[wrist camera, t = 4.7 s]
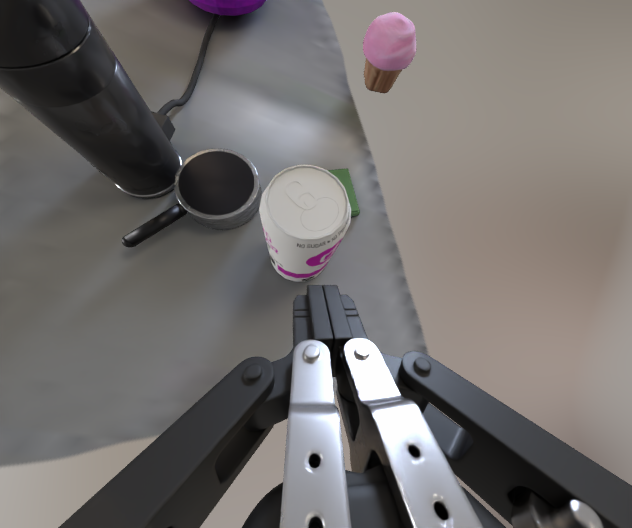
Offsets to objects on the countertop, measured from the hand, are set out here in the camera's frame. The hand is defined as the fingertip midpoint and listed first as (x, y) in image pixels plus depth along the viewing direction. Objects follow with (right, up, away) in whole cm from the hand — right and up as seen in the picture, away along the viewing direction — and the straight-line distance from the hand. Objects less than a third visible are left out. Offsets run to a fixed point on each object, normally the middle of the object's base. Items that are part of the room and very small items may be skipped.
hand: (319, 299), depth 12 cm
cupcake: (+11, +36, +33) cm, 50 cm away
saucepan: (-17, +9, +21) cm, 29 cm away
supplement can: (-3, +3, +22) cm, 22 cm away
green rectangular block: (+4, +13, +25) cm, 28 cm away
